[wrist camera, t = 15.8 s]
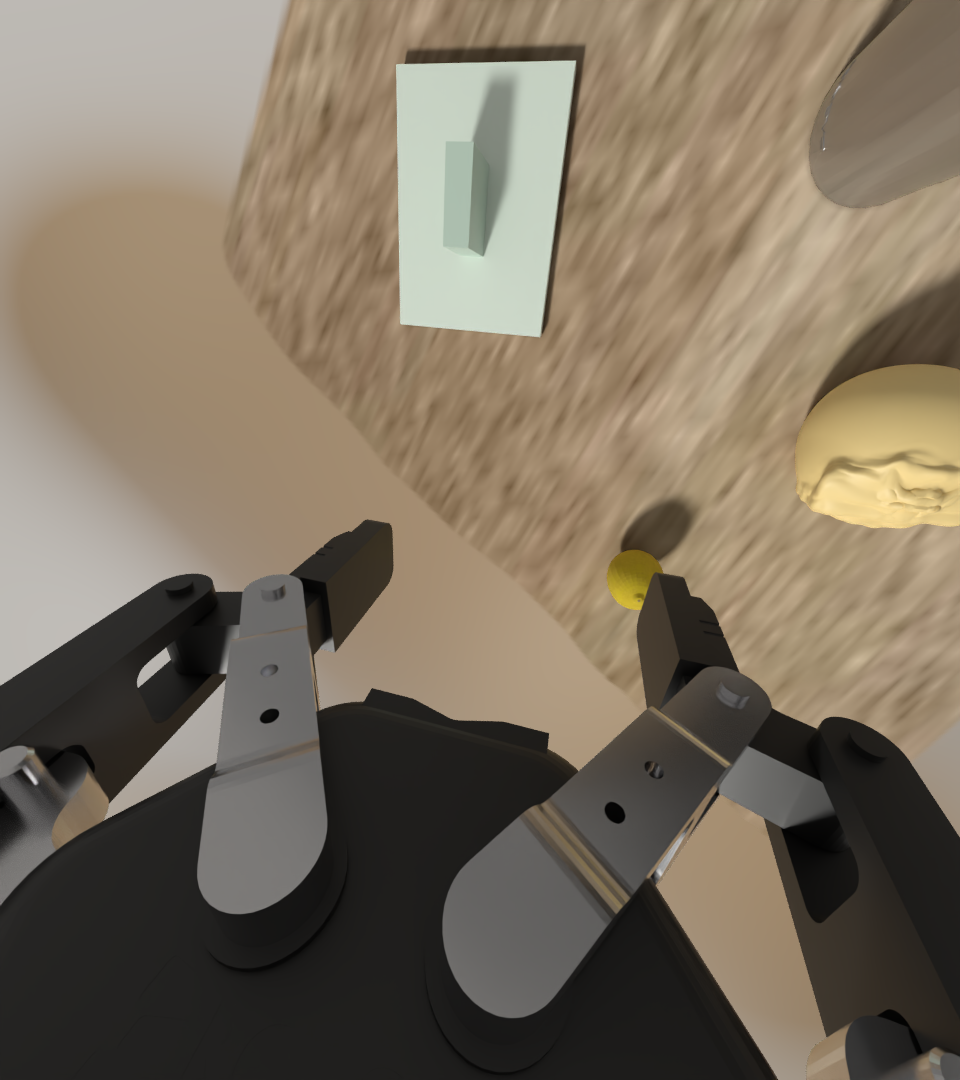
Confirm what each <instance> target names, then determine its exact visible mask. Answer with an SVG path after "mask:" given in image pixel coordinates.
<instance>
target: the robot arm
mask: <svg viewBox="0 0 960 1080" xmlns="http://www.w3.org/2000/svg"><path fill="white" fill-rule="evenodd" d="M809 161H810V168H811V174H812V176H813V178H814V181H815V183H816V186H817V187H818V188H819V190H820V191H821V192H822V193H823V194H824V196H825V197H827V198H828V199H830V200H831V201H833V202H834V203H836V204H839V205H842V206H846V207H849V208H867V207H872V206H877V205H882V204H885V203H887V202H890V201H892V200H895V199H897V198H900V197H903V196H905V195H908V194H910V193H913V192H915V191H918V190H920V189H923V188H926V187H928V186H931V185H933V184H936V183H941V182H943V181H946V180H948V179H951V178H953V177H956V176H958V175H960V0H913V1H912V2H911V3H910V4H909V5H908V6H907V7H906V8H905V9H904V10H903V11H902V12H901V13H900V14H899V15H898V16H897V17H895V19H894V20H893V21H892V22H891V23H890V24H889V25H888V26H887V27H886V28H885V29H884V30H883V31H882V32H881V33H880V34H879V35H878V36H877V37H876V38H875V39H874V40H873V41H872V42H871V43H870V44H869V45H868V46H867V47H866V48H865V49H864V50H863V51H862V52H861V53H860V54H859V55H858V56H857V57H856V58H855V59H854V60H853V61H852V62H851V63H850V64H849V65H848V66H847V67H846V69H845V70H844V71H843V72H842V74H841V75H840V76H839V77H838V79H837V80H836V81H835V83H834V84H833V86H832V88H831V89H830V91H829V93H828V94H827V96H826V98H825V99H824V101H823V103H822V105H821V108H820V110H819V112H818V115H817V117H816V119H815V123H814V126H813V130H812V134H811V138H810V149H809ZM392 572H393V538H392V527H391V525H390V524H389V523H384V522H378V521H373V520H365V521H363V522H362V523H361V524H360V525H359V526H358V527H357V528H355V529H354V530H353V531H352V532H349V531H348V532H345V533H343V534H341V535H338V536H336V537H334V538H332V539H331V540H330V541H329V542H328V543H326V544H325V545H324V547H323V548H320V549H319V550H318V551H317V552H316V554H313V555H312V556H311V557H310V558H308V559H307V560H306V561H305V562H304V563H302V564H301V565H300V566H299V567H298V568H297V569H295V570H294V571H293V572H292V573H290V574H289V575H283V574H281V575H271V576H266V577H263V578H260V579H258V580H256V581H254V582H252V583H250V584H249V585H248V586H247V587H246V588H245V589H244V591H243V592H215V588H214V585H213V581H212V579H211V578H209V577H208V576H206V575H202V574H185V575H179V576H175V577H172V578H169V579H166V580H164V581H161V582H159V583H158V584H156V585H154V586H153V587H151V588H150V589H148V590H147V591H145V592H144V593H142V594H141V595H139V596H138V597H136V598H134V599H133V600H131V601H130V602H128V603H127V604H125V605H124V606H122V607H121V608H119V609H118V610H116V611H115V612H113V613H111V614H110V615H108V616H107V617H105V618H104V619H102V620H101V621H99V622H98V623H96V624H95V625H93V626H91V627H90V628H88V629H87V630H85V631H84V632H82V633H81V634H79V635H78V636H76V637H75V638H73V639H72V640H70V641H68V642H67V643H65V644H64V645H63V646H61V647H59V648H58V649H56V650H55V651H53V652H52V653H50V654H49V655H47V656H45V657H44V658H43V659H41V660H39V661H38V662H36V663H35V664H33V665H32V666H30V667H29V668H27V669H26V670H24V671H23V672H21V673H19V674H18V675H16V676H15V677H13V678H12V679H11V680H9V681H7V682H6V683H4V684H3V685H1V686H0V1080H778V1079H777V1077H776V1075H775V1074H774V1072H773V1070H772V1069H771V1067H770V1066H769V1064H768V1062H767V1061H766V1059H765V1057H764V1056H763V1054H762V1053H761V1051H760V1050H759V1048H758V1047H757V1045H756V1043H755V1042H754V1040H753V1039H752V1037H751V1035H750V1034H749V1032H748V1031H747V1029H746V1027H745V1026H744V1025H743V1023H742V1021H741V1020H740V1018H739V1017H738V1015H737V1013H736V1012H735V1010H734V1009H733V1007H732V1006H731V1004H730V1002H729V1001H728V999H727V998H726V996H725V995H724V993H723V991H722V990H721V988H720V986H719V985H718V983H717V982H716V980H715V979H714V977H713V975H712V974H711V972H710V971H709V969H708V968H707V966H706V964H705V963H704V961H703V960H702V958H701V956H700V955H699V953H698V952H697V950H696V949H695V947H694V945H693V944H692V942H691V941H690V939H689V938H688V936H687V934H686V933H685V931H684V930H683V928H682V927H681V925H680V923H679V922H678V920H677V919H676V917H675V916H674V914H673V913H672V911H671V909H670V908H669V906H668V904H667V903H666V901H665V900H664V898H663V897H662V895H661V894H660V892H659V890H658V889H657V886H658V884H659V883H660V882H661V880H662V879H663V877H664V876H665V874H666V873H667V871H668V870H669V868H670V867H671V865H672V864H673V862H674V860H675V859H676V857H677V856H678V854H679V853H680V851H681V850H682V849H683V847H684V846H685V844H686V843H687V841H688V840H689V839H690V837H691V836H692V834H693V833H694V832H695V830H696V829H697V827H698V826H699V824H700V823H701V822H702V820H703V819H704V817H705V816H706V815H707V813H708V812H709V810H710V809H711V808H712V806H713V805H714V803H715V802H716V801H717V799H718V798H719V796H720V795H723V796H725V797H727V798H728V799H730V800H732V801H734V802H736V803H738V804H739V805H741V806H743V807H745V808H747V809H749V810H750V811H752V812H754V813H756V814H758V815H760V816H761V817H763V818H764V820H765V824H766V827H767V831H768V834H769V838H770V841H771V845H772V848H773V852H774V855H775V859H776V862H777V866H778V869H779V873H780V876H781V880H782V883H783V887H784V890H785V893H786V897H787V901H788V904H789V908H790V911H791V915H792V918H793V921H794V925H795V929H796V932H797V935H798V939H799V942H800V946H801V949H802V953H803V956H804V960H805V963H806V966H807V970H808V974H809V977H810V981H811V984H812V987H813V991H814V995H815V998H816V1002H817V1005H818V1009H819V1012H820V1016H821V1019H822V1023H823V1026H824V1030H825V1033H826V1037H827V1038H826V1039H824V1040H822V1041H821V1042H819V1043H818V1044H816V1045H815V1046H814V1047H813V1048H812V1050H811V1051H810V1054H809V1056H808V1060H807V1065H806V1080H960V837H959V836H958V834H957V833H956V831H955V830H954V828H953V827H952V825H951V823H950V822H949V820H948V819H947V817H946V816H945V814H944V813H943V811H942V810H941V808H940V807H939V805H938V804H937V802H936V801H935V799H934V798H933V796H932V795H931V793H930V792H929V790H928V789H927V787H926V785H925V784H924V782H923V781H922V780H921V778H920V776H919V775H918V773H917V772H916V770H915V769H914V767H913V766H912V764H911V763H910V761H909V760H908V758H907V757H906V756H905V754H904V753H903V752H902V751H901V750H900V749H899V748H898V747H897V746H896V745H895V744H893V743H892V742H891V741H890V740H888V739H887V738H886V737H885V736H883V735H882V734H880V733H879V732H877V731H875V730H873V729H872V728H870V727H868V726H866V725H864V724H862V723H859V722H857V721H854V720H851V719H847V718H842V717H829V718H826V719H824V720H823V721H822V722H821V724H820V725H819V727H818V728H817V729H816V728H814V727H811V726H809V725H807V724H805V723H802V722H800V721H798V720H795V719H793V718H791V717H789V716H786V715H784V714H782V713H780V712H778V711H776V710H774V709H773V708H772V706H771V702H770V699H769V697H768V696H767V694H766V693H765V691H764V690H763V689H762V688H761V687H760V686H759V685H758V684H757V683H755V682H754V681H753V680H751V679H750V678H748V677H747V676H745V675H743V674H741V673H739V670H738V668H737V665H736V663H735V661H734V658H733V656H732V653H731V651H730V649H729V646H728V644H727V642H726V639H725V638H724V637H723V636H724V634H723V632H722V630H721V627H719V623H718V620H717V618H716V615H715V613H714V611H713V610H712V609H711V608H710V607H709V606H708V605H707V604H706V603H705V602H704V601H703V600H702V599H701V598H698V597H693V596H690V593H689V590H688V587H687V584H686V582H685V579H684V578H683V577H680V576H674V575H669V574H663V573H657V572H655V573H654V574H653V576H652V578H651V581H650V584H649V587H648V590H647V593H646V596H645V599H644V602H643V605H642V608H641V612H640V615H639V618H638V624H637V641H638V648H639V655H640V662H641V669H642V677H643V684H644V691H645V698H646V705H647V710H645V711H644V712H643V713H642V714H641V715H640V716H639V717H638V718H637V719H636V720H634V721H633V722H632V723H631V724H630V725H629V726H628V727H627V728H626V729H625V730H623V731H622V732H621V733H620V734H619V735H618V736H617V737H616V738H615V739H614V740H613V741H612V742H610V743H609V744H608V745H607V746H606V747H605V748H604V749H603V750H602V751H600V753H598V754H597V755H596V756H595V757H594V758H593V759H592V760H591V761H590V762H588V764H586V765H585V766H584V767H583V768H582V769H581V770H580V771H578V770H577V769H576V768H575V767H574V766H572V765H571V764H570V763H569V762H568V761H566V760H565V759H564V758H562V757H560V756H559V755H558V754H556V753H554V752H552V751H551V750H549V749H547V748H548V739H549V733H545V732H542V731H538V730H534V729H530V728H526V727H522V726H518V725H514V724H510V723H506V722H494V721H458V720H453V719H450V718H448V717H446V716H444V715H443V714H441V713H439V712H437V711H435V710H433V709H431V708H429V707H428V706H426V705H424V704H422V703H420V702H418V701H416V700H414V699H412V698H408V697H404V696H400V695H396V694H392V693H389V692H384V691H381V690H376V689H373V688H372V689H371V691H370V693H369V694H368V696H367V697H366V699H365V701H364V702H350V703H344V704H338V705H335V706H331V707H328V708H325V709H322V710H321V707H320V699H319V691H318V684H317V676H316V668H315V660H314V654H315V653H316V652H317V651H318V650H319V649H322V650H326V651H330V652H336V651H337V649H338V648H339V646H340V645H341V644H342V643H343V642H344V640H345V639H346V638H347V636H348V635H349V634H350V632H351V631H352V630H353V629H354V627H355V626H356V625H357V624H358V622H359V621H360V620H361V618H362V617H363V616H364V615H365V613H366V612H367V611H368V609H369V608H370V607H371V606H372V604H373V603H374V602H375V600H376V599H377V598H378V597H379V595H380V594H381V593H382V591H383V590H384V589H385V588H386V586H387V585H388V584H389V582H390V579H391V576H392ZM165 648H167V650H168V653H169V655H170V658H171V660H170V661H169V662H168V663H167V664H166V665H164V666H163V667H162V668H161V669H160V670H159V671H157V672H156V673H155V674H154V675H153V676H152V677H151V678H149V679H148V680H147V681H146V682H145V683H144V684H143V685H141V686H140V687H139V688H138V687H137V678H138V675H139V673H140V671H141V669H142V668H143V667H144V666H145V665H146V664H147V663H148V662H149V661H150V660H151V659H152V658H154V657H155V656H156V655H157V654H159V653H160V652H161V651H162V650H163V649H165ZM225 679H226V683H225V693H224V701H223V710H222V719H221V728H220V738H219V746H218V755H217V763H215V764H213V765H211V766H209V767H208V768H205V769H204V770H202V771H200V772H198V773H196V774H194V775H192V776H190V777H188V778H186V779H184V780H182V781H180V782H178V783H176V784H174V785H172V786H170V787H168V788H166V789H165V790H163V791H161V792H159V793H157V794H155V795H153V796H151V797H149V798H147V799H145V800H143V801H141V802H139V803H137V804H136V805H133V806H131V807H129V808H128V809H126V810H124V811H122V812H120V813H118V814H116V815H114V816H112V817H110V818H108V819H106V820H104V819H105V816H106V814H107V811H108V807H109V803H110V802H111V801H112V800H113V799H114V798H115V797H116V796H117V795H118V793H119V792H120V791H121V790H122V789H123V788H124V787H125V786H126V785H127V784H128V783H129V782H130V781H131V779H133V777H134V776H135V775H136V774H137V773H138V772H139V771H140V770H141V769H142V768H143V767H144V765H146V764H147V762H148V761H149V760H150V759H151V758H152V757H153V756H154V755H155V754H156V753H157V752H158V750H160V749H161V748H162V746H163V745H164V744H165V743H166V742H167V741H168V740H169V739H170V738H171V737H172V736H173V735H174V734H175V733H176V732H177V730H178V729H179V728H180V727H181V726H182V725H183V724H184V723H185V722H186V721H187V720H188V718H189V717H191V716H192V714H193V713H194V712H195V711H196V710H197V709H198V708H199V707H200V706H201V705H202V704H203V703H204V702H205V701H206V699H207V698H208V697H209V696H210V695H211V694H212V693H213V692H214V691H215V690H216V689H217V688H218V687H219V685H220V684H222V682H223V681H224V680H225ZM103 820H104V821H103Z"/></svg>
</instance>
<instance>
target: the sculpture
mask: <svg viewBox="0 0 960 1080" xmlns="http://www.w3.org/2000/svg"><path fill="white" fill-rule="evenodd" d="M795 468H796V475H797V485H796V492H797V494H798V495H800V499H801V500H802V501H803V502H806V503H807V505H808V507H809V508H810V509H811V510H812V511H814V512H819V513H822V514H826V515H830V516H832V517H834V518H836V519H839V520H842V521H845V522H847V523H850V524H860V525H865V526H867V527H871V528H880V527H890V528H908V527H911V526H914V525H918V524H922V523H924V524H932V525H939V526H959V525H960V370H959V369H955V368H951V367H946V366H940V365H930V364H907V365H897V366H890V367H885V368H880V369H876V370H873V371H869V372H866V373H864V374H861V375H858V376H856V377H854V378H852V379H850V380H848V381H846V382H844V383H842V384H840V385H839V386H837V387H836V388H834V389H833V390H832V391H830V392H829V393H828V394H827V395H826V396H824V397H823V398H822V399H821V400H820V401H819V402H818V403H817V405H816V406H815V407H814V408H813V409H812V411H811V412H810V413H809V415H808V416H807V418H806V420H805V421H804V423H803V425H802V427H801V430H800V432H799V435H798V439H797V443H796V451H795Z"/></svg>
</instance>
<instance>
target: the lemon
mask: <svg viewBox="0 0 960 1080" xmlns="http://www.w3.org/2000/svg"><path fill="white" fill-rule="evenodd" d="M655 572H657V573H663V571H662V568H661V566H660V564H659V563H658V561H657V560H656V559H655V558H654V557H653V556H652V555H650V554H648V553H646V552H644V551H641V550H628V551H624V552H622V553H620V554H619V555H617V556H616V557H615V558H614V559H613V560H612V561H611V563H610V565H609V568H608V572H607V582H608V587H609V590H610V592H611V594H612V596H613V597H614V599H615V600H616V601H617V602H618V603H619V604H621V605H622V606H624V607H626V608H629V609H634V610H641V608H642V605H643V602H644V599H645V596H646V593H647V590H648V587H649V584H650V581H651V578H652V576H653V574H654V573H655Z"/></svg>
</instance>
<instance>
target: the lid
mask: <svg viewBox="0 0 960 1080" xmlns="http://www.w3.org/2000/svg"><path fill="white" fill-rule="evenodd" d="M575 75H576V61H531V62H484V63H436V64H396V78H397V142H398V207H399V271H400V324H404V325H415V326H426V327H437V328H447V329H458V330H469V331H480V332H490V333H501V334H512V335H523V336H533V337H541V335H542V327H543V319H544V312H545V304H546V297H547V289H548V281H549V274H550V266H551V258H552V251H553V243H554V235H555V228H556V220H557V212H558V205H559V197H560V190H561V182H562V174H563V167H564V159H565V151H566V144H567V136H568V128H569V121H570V113H571V105H572V98H573V90H574V82H575Z"/></svg>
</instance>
